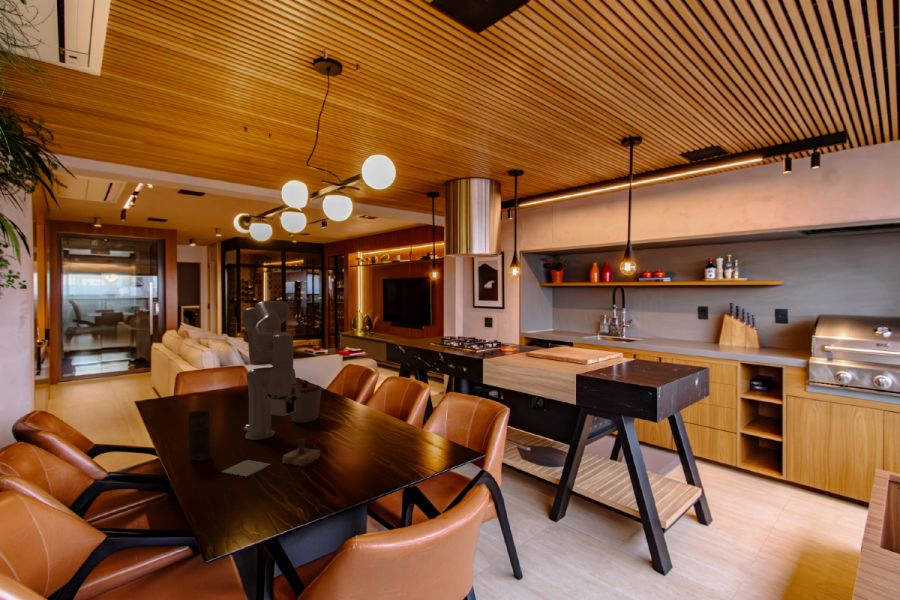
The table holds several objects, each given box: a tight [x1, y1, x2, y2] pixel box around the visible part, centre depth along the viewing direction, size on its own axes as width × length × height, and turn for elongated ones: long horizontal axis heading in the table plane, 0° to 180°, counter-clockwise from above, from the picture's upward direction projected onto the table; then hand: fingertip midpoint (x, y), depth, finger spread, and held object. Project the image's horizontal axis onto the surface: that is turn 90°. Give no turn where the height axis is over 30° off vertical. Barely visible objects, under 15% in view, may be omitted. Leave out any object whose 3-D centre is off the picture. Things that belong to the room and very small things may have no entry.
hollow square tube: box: [270, 396, 296, 417], centre depth 168 cm, size 7×7×6 cm
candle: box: [188, 407, 212, 462], centre depth 172 cm, size 8×7×20 cm
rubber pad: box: [220, 459, 272, 478], centre depth 163 cm, size 12×12×1 cm
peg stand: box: [282, 438, 321, 467], centre depth 171 cm, size 10×10×8 cm
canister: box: [289, 380, 324, 424], centre depth 226 cm, size 18×18×21 cm
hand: (282, 411), depth 168 cm, fingers closed on hollow square tube, 6 cm apart
